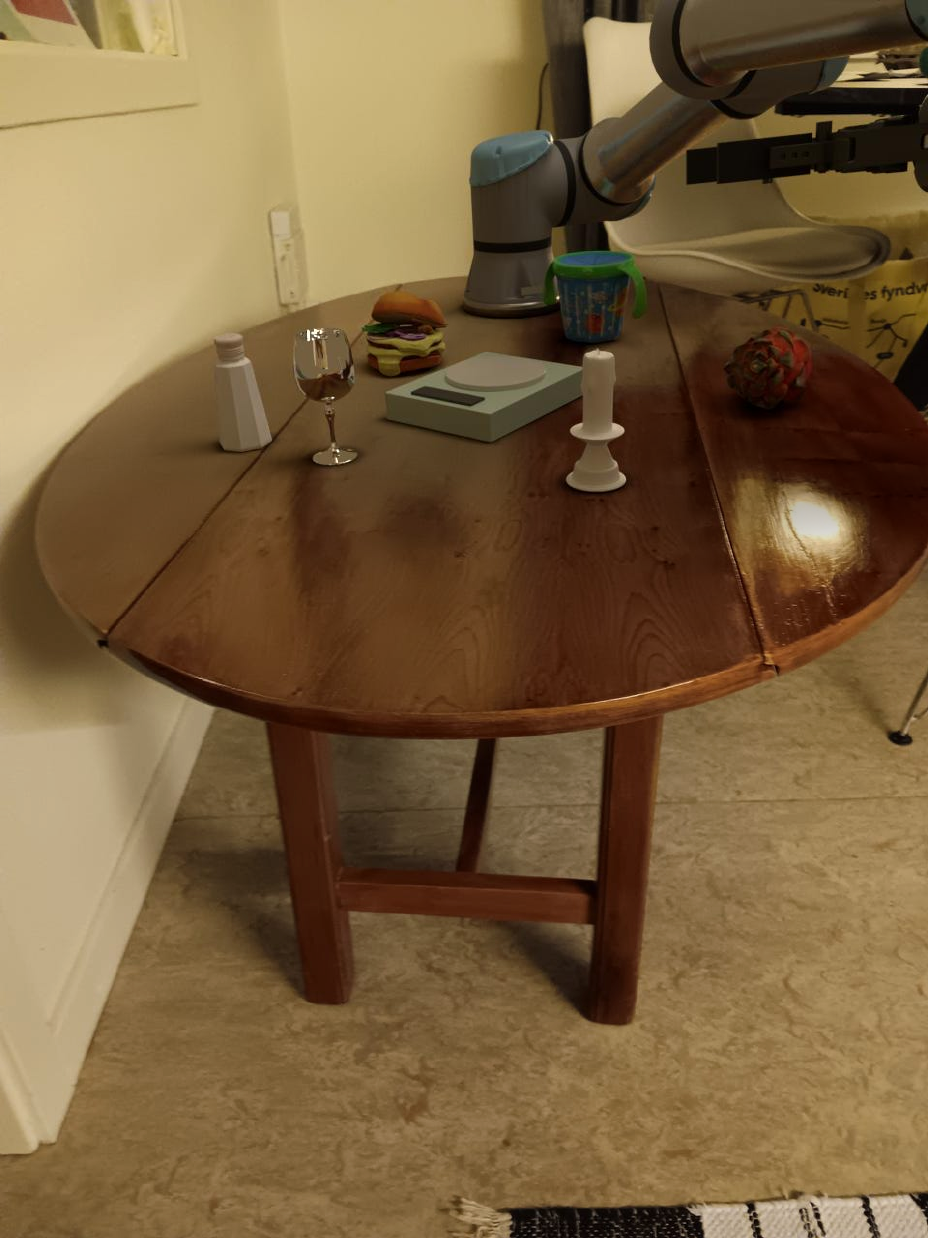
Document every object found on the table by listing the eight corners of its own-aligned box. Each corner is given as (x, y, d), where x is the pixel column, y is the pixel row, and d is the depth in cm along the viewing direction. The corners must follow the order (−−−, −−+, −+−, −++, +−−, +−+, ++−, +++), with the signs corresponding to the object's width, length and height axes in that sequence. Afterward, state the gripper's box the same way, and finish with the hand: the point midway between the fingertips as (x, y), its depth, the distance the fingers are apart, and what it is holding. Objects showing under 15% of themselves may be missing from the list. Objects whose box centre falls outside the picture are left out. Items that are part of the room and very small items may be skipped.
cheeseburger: (348, 374, 118) (347, 289, 115) (387, 371, 127) (387, 292, 124) (423, 378, 114) (424, 290, 111) (457, 375, 124) (459, 293, 121)
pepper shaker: (283, 440, 99) (266, 333, 93) (239, 456, 96) (220, 346, 90) (251, 430, 102) (234, 326, 97) (209, 445, 99) (188, 337, 93)
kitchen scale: (486, 375, 115) (485, 346, 113) (586, 393, 108) (586, 361, 106) (387, 419, 103) (384, 386, 101) (490, 442, 96) (489, 407, 94)
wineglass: (317, 472, 91) (300, 345, 85) (298, 454, 96) (280, 332, 89) (373, 459, 93) (360, 335, 87) (351, 442, 98) (337, 323, 92)
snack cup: (523, 335, 131) (522, 257, 125) (578, 320, 136) (579, 245, 131) (607, 356, 120) (610, 271, 115) (663, 339, 125) (667, 257, 120)
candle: (610, 497, 83) (615, 359, 77) (555, 486, 85) (556, 352, 79) (635, 475, 87) (641, 342, 80) (582, 466, 89) (584, 336, 83)
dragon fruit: (758, 437, 98) (753, 415, 108) (836, 388, 94) (823, 371, 105) (713, 367, 96) (713, 352, 107) (790, 315, 93) (782, 305, 103)
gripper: (1057, 188, 64) (733, 221, 65) (914, 188, 86) (676, 213, 88) (1075, 59, 61) (735, 98, 62) (922, 94, 83) (676, 122, 85)
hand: (700, 165), depth 75 cm, fingers open, 13 cm apart
